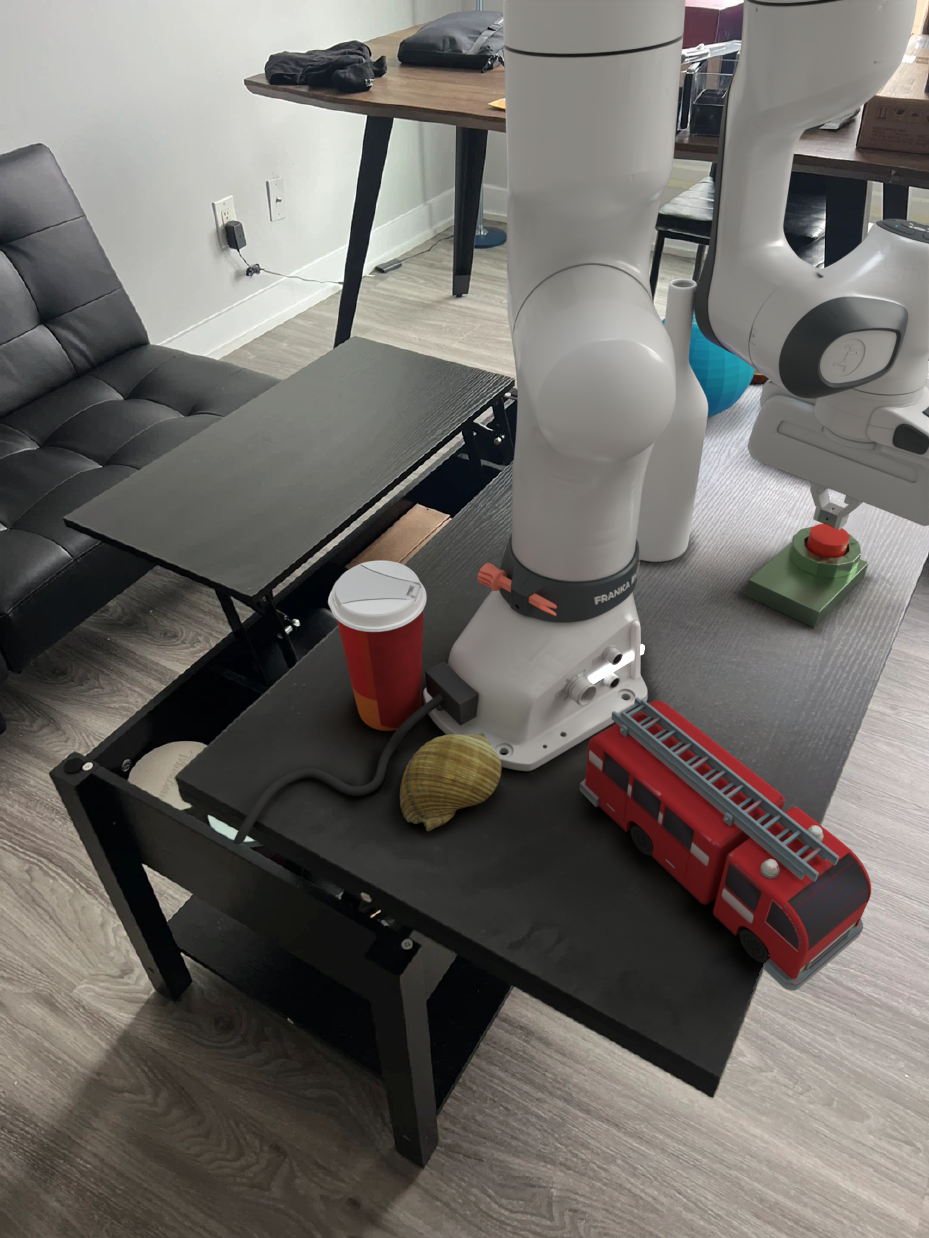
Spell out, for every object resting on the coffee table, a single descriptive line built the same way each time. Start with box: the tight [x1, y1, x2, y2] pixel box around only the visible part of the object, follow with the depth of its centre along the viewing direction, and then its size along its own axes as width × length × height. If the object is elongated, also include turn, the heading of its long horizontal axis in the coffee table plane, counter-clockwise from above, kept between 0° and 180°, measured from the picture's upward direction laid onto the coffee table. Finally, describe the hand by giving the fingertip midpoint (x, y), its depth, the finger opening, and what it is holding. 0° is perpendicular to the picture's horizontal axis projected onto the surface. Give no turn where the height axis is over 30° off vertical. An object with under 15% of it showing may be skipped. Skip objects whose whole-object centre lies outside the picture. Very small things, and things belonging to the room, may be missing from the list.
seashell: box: [399, 733, 503, 832], centre depth 77 cm, size 10×7×8 cm
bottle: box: [636, 278, 708, 563], centre depth 95 cm, size 8×8×30 cm
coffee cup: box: [327, 559, 428, 732], centre depth 81 cm, size 8×8×15 cm
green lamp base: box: [745, 526, 869, 629], centre depth 97 cm, size 12×8×4 cm, turn 136°
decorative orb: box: [661, 313, 755, 418], centre depth 123 cm, size 15×15×15 cm
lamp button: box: [807, 523, 850, 558], centre depth 97 cm, size 4×4×2 cm
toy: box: [579, 697, 872, 992], centre depth 69 cm, size 8×22×10 cm, turn 36°
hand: (828, 522), depth 95 cm, fingers closed
